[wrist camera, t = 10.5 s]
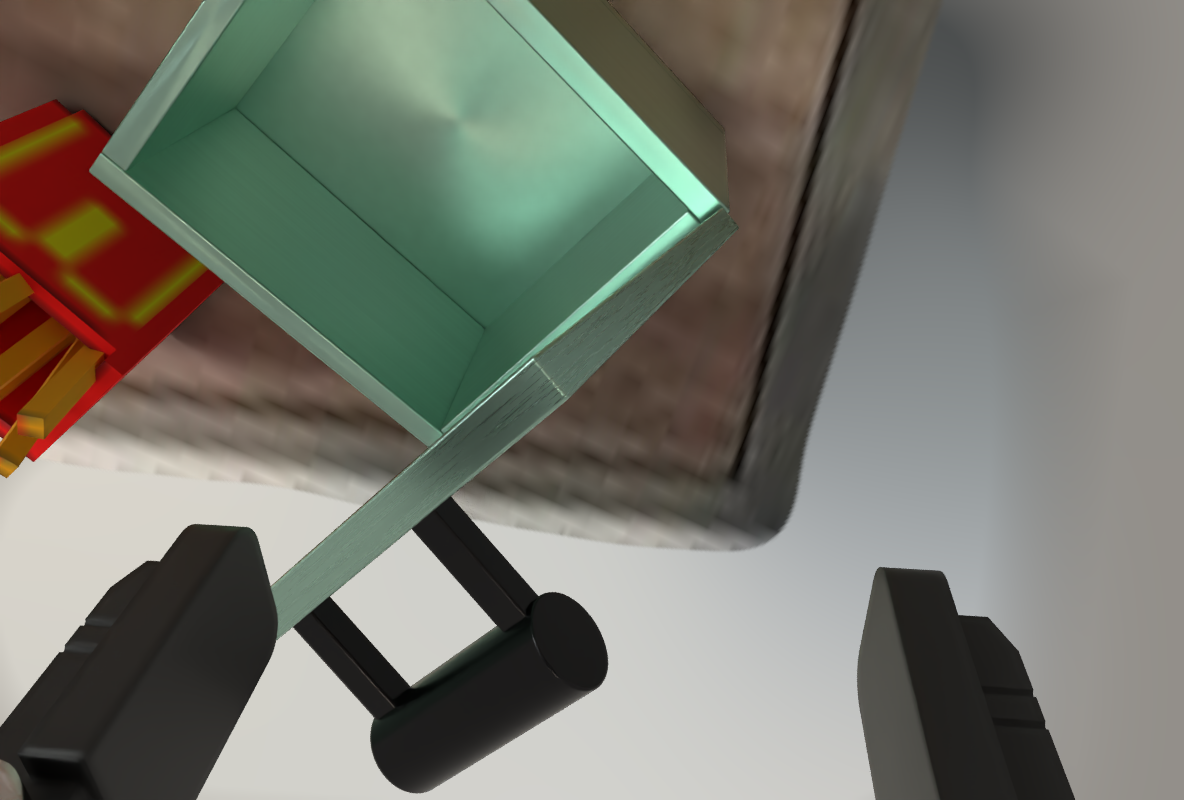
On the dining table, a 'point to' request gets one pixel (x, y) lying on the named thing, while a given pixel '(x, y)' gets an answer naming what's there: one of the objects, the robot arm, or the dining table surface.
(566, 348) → the freezer lid
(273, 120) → the box
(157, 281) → the french fries container
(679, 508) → the dining table surface
